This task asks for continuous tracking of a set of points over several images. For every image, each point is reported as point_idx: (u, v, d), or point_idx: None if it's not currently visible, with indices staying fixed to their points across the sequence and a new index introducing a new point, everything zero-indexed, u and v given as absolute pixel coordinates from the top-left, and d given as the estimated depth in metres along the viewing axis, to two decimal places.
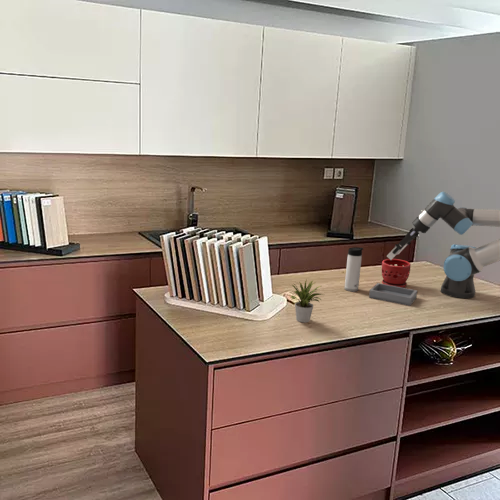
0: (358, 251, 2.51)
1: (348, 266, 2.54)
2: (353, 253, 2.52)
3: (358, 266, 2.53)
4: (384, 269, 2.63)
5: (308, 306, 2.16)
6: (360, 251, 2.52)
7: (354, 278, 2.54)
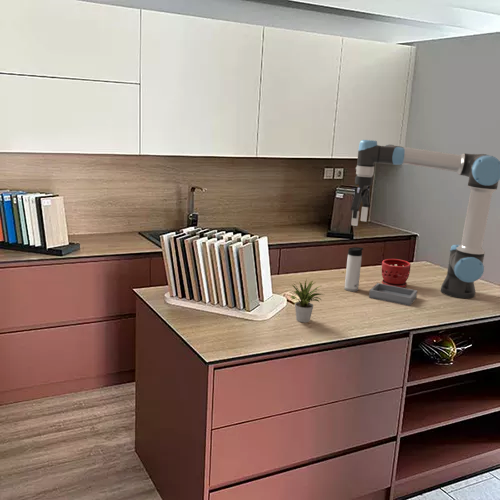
0: (358, 251, 2.51)
1: (348, 266, 2.54)
2: (353, 253, 2.52)
3: (358, 266, 2.53)
4: (384, 269, 2.63)
5: (308, 306, 2.16)
6: (360, 251, 2.52)
7: (354, 278, 2.54)
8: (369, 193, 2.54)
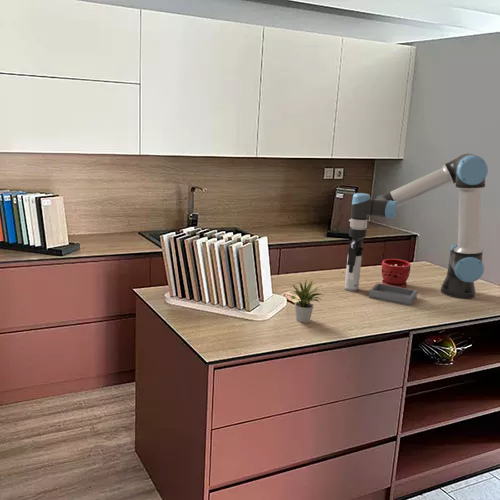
0: (358, 251, 2.51)
1: (348, 266, 2.54)
2: None
3: (358, 266, 2.53)
4: (384, 269, 2.63)
5: (308, 306, 2.16)
6: (360, 251, 2.52)
7: (354, 278, 2.54)
8: None
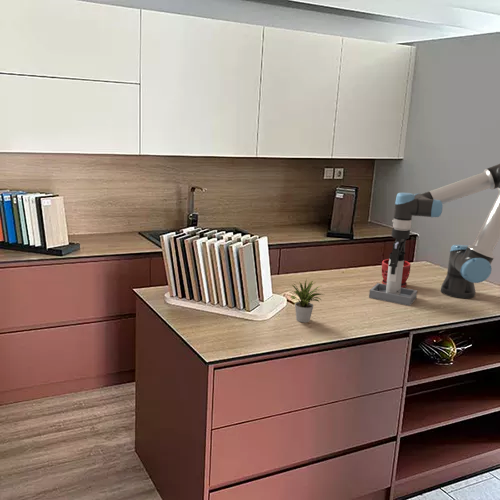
0: (400, 256, 2.43)
1: None
2: None
3: (400, 271, 2.45)
4: (384, 269, 2.63)
5: (308, 306, 2.16)
6: (402, 256, 2.43)
7: (397, 284, 2.45)
8: (404, 247, 2.50)
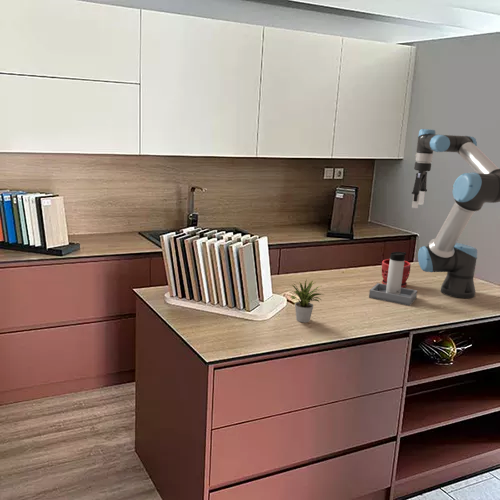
0: (401, 256, 2.43)
1: (390, 271, 2.46)
2: (396, 258, 2.43)
3: (401, 271, 2.45)
4: (384, 269, 2.63)
5: (308, 306, 2.16)
6: (403, 256, 2.43)
7: (397, 284, 2.46)
8: (426, 178, 2.75)
